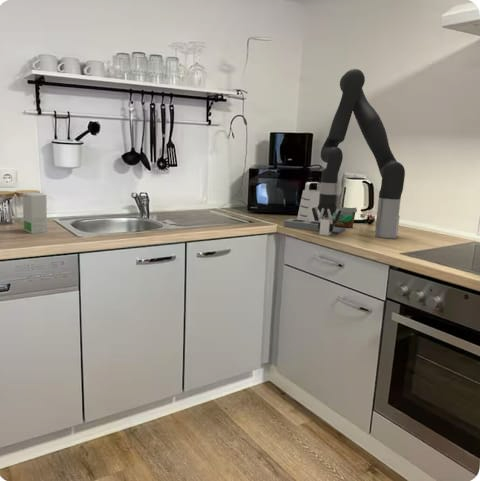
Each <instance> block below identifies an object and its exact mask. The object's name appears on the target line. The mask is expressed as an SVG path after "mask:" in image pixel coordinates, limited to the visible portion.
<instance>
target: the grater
mask: <svg viewBox="0 0 480 481" xmlns="http://www.w3.org/2000/svg"><path fill="white" fill-rule="evenodd" d="M311 184H316V189H310V185H311ZM320 186H321V182H318V181H310V182H309V181H306V182H305V186H304V189H303V190H302V194H301V198H300V202H299V209H298V213H297V218H296V219H301V220H309V221H315V220H314V216H313V212H312V208H314V207H318V205H319V196H320ZM317 214H318V218H319V216H320V211H319V210H318V211H317ZM324 218H326V217H325V216H324Z"/></svg>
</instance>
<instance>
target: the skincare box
mask: <svg viewBox="0 0 480 481" xmlns="http://www.w3.org/2000/svg"><path fill="white" fill-rule="evenodd" d="M47 209H48V208H47V195H46V194H43V193H41V192H36V191H35V192H33V191H32V192H22V213H23V214H22V215H23V216H22V218H23V231H25V232H27V233H30V234H32V235H33V234H39V233H47V232H48V223H47V222H48V216H47Z"/></svg>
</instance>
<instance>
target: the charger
mask: <svg viewBox="0 0 480 481" xmlns="http://www.w3.org/2000/svg"><path fill="white" fill-rule="evenodd" d="M329 227H330V220H329V217H325V218H322V219H321V221H320V231H319V235H320V236H330V235H332V234H331V232H329Z"/></svg>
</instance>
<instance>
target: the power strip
mask: <svg viewBox="0 0 480 481" xmlns="http://www.w3.org/2000/svg"><path fill="white" fill-rule="evenodd" d="M283 227H284V228H289V229H297V230H306V231H312V232H314V231H315V232H320V231H319V229H318V221H309V220H301V219H297V218H289V219H285V220H284V221H283Z"/></svg>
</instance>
